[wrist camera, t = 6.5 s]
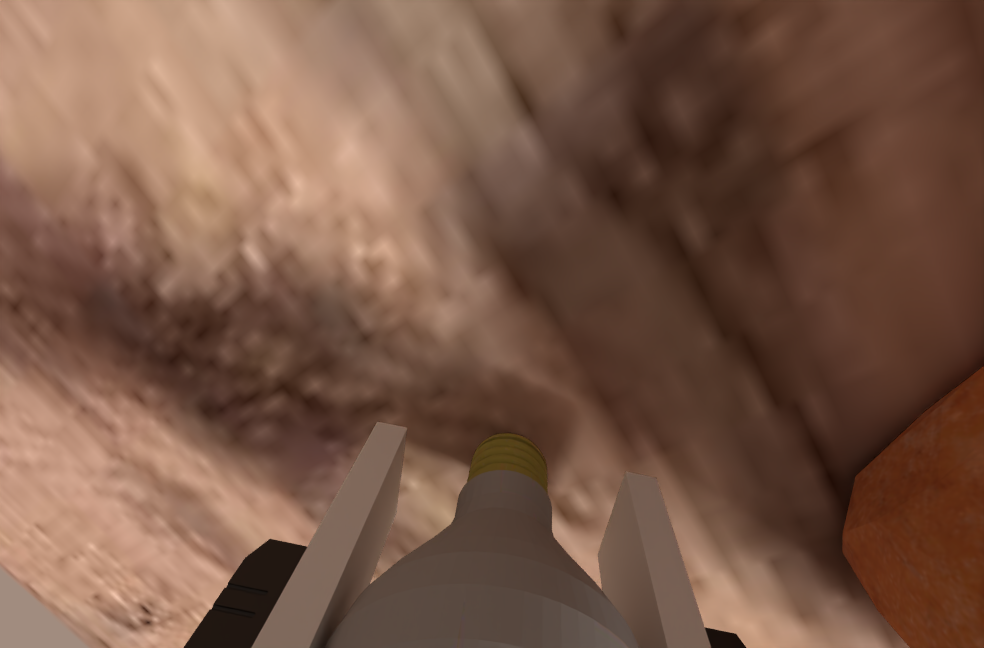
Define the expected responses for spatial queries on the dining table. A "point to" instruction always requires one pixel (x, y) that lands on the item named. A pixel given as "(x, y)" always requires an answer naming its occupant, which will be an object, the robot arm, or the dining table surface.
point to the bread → (926, 524)
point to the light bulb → (489, 573)
